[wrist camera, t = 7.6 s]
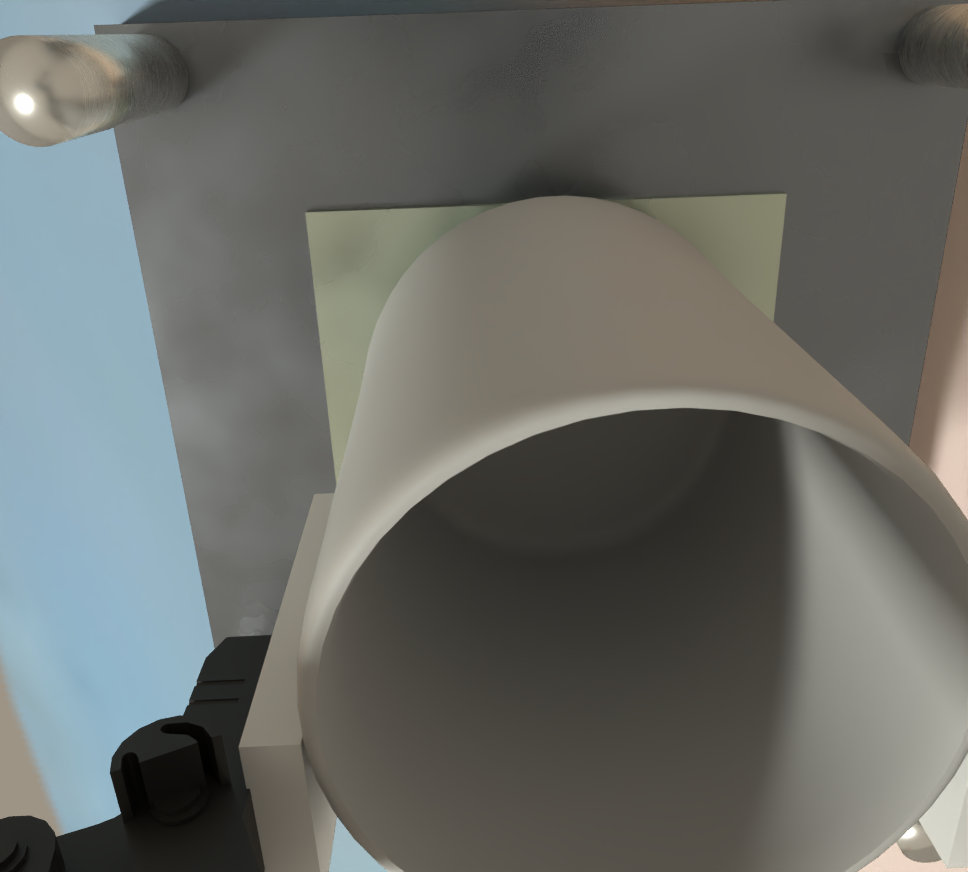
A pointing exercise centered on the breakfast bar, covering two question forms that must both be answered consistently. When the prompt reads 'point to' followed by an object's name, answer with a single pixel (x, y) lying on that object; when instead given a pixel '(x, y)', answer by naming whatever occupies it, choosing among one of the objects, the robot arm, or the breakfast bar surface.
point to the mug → (623, 575)
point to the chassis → (491, 200)
